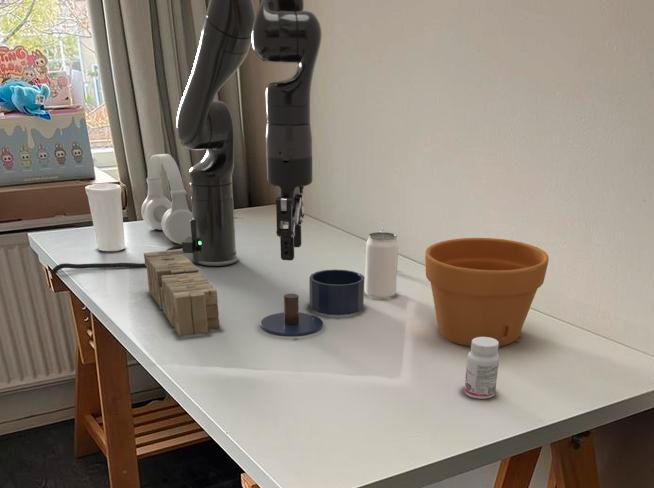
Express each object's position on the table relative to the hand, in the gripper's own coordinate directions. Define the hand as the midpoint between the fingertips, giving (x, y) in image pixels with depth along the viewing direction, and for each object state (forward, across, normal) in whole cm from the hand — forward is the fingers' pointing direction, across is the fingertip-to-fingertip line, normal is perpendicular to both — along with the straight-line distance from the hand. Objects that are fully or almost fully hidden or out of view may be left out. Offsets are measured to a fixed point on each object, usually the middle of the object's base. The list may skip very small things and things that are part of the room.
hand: (291, 253), depth 135 cm
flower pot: (+14, -2, +34) cm, 37 cm away
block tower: (+14, -6, -22) cm, 27 cm away
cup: (+14, -47, -51) cm, 71 cm away
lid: (+13, 0, 0) cm, 13 cm away
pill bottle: (+14, +24, +33) cm, 43 cm away
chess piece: (+14, -41, +14) cm, 45 cm away
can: (+14, -22, +15) cm, 30 cm away
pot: (+14, -12, +7) cm, 19 cm away
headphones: (+14, -62, -41) cm, 76 cm away
